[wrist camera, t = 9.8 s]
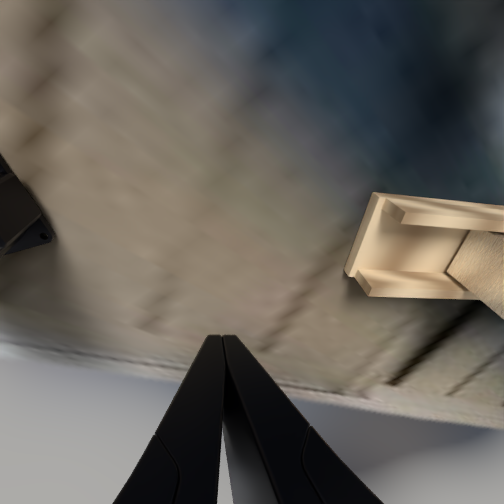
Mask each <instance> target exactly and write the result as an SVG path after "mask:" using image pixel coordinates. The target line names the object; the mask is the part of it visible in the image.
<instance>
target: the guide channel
mask: <svg viewBox="0 0 504 504" xmlns="http://www.w3.org/2000/svg"><path fill="white" fill-rule="evenodd" d="M471 230H482V231H494V232H504V206H500V205H490V204H481V203H471V202H461V201H452V200H442V199H433V198H423V197H414V196H404V195H394V194H385V193H375V192H373V193H372V195H371V198H370V201H369V203H368V206H367V209H366V211H365V214H364V217H363V219H362V222H361V225H360V228H359V230H358V233H357V236H356V238H355V241H354V244H353V246H352V249H351V252H350V254H349V257H348V260H347V263H346V265H345V268H344V271H345V272H346V274H347V275H348V276H349V277H355V279H356V280H357V281H358V283H359V284H360V286H361V287H362V288H363V290H364V291H365V293H366V294H367V295H368V296H374V297H406V298H438V299H471V300H480V299H479V298H478V297H476V296H475V295H474V294H473V293H472V292H471V291H469V290H468V289H467V288H466V287H465V286H463V285H462V284H461V283H460V282H459V281H457V280H456V279H455V278H454V277H453V276H452V275H450V274H449V273H448V272H447V270H448V268H449V266H450V265H451V263H452V261H453V260H454V258H455V256H456V255H457V253H458V251H459V250H460V248H461V246H462V244H463V243H464V241H465V239H466V238H467V236H468V234H469V233H470V231H471Z"/></svg>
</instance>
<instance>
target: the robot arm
mask: <svg viewBox="0 0 504 504" xmlns="http://www.w3.org/2000/svg"><path fill="white" fill-rule="evenodd" d="M42 233H45V234H47V235H48V237H46V236H44V235H43V234H42ZM54 237H55V233H54V231H53V230H52V228H51V227H50V225H49V224H48V223H47V221H46V220H45V218H44V217H43V215H42V214H41V211H40V209H39V208H38V206H37V205H36V204H35V202H34V201H33V199H32V198H31V196H30V195H29V194H28V192H27V191H26V189H25V188H24V186H23V185H22V184H21V182H20V181H19V179H18V178H17V177H16V176H15V175H14V174H13V173H12V171H11V170H10V169H9V167H8V166H7V164H6V163H5V161H4V160H3V159H2V157H1V156H0V258H1V257H2V256H3V255H6V254H10V253H14V252H17V251H21V250H24V249H28V248H31V247H35V246H39V245H42V244H46V243H49V242H51V241H52V240H53V239H54ZM309 426H310V424H309V422H308V421H307V420H306V419H305V418H304V417H303V415H302V414H301V413H300V412H299V410H298V409H297V408H296V407H295V406H294V404H293V403H292V402H291V401H290V399H289V398H288V397H287V396H286V395H285V393H284V392H283V391H282V390H281V389H280V387H279V386H278V385H277V384H276V383H275V381H274V380H273V379H272V378H271V377H270V375H269V374H268V373H267V372H266V371H265V369H264V368H263V367H262V366H261V365H260V363H259V362H258V361H257V360H256V359H255V357H254V356H253V355H252V354H251V353H250V351H249V350H248V349H247V348H246V347H245V345H244V344H243V343H242V342H241V341H240V339H239V338H238V337H237V336H236V335H223V336H221V335H208V336H207V337H206V339H205V341H204V342H203V344H202V346H201V348H200V350H199V352H198V354H197V355H196V357H195V359H194V361H193V363H192V365H191V367H190V368H189V370H188V372H187V374H186V376H185V378H184V380H183V381H182V383H181V385H180V387H179V389H178V391H177V393H176V395H175V396H174V398H173V400H172V402H171V404H170V406H169V408H168V409H167V411H166V413H165V415H164V417H163V419H162V421H161V422H160V424H159V426H158V428H157V430H156V432H155V435H153V437H152V438H151V440H150V442H149V444H148V446H147V448H146V450H145V451H144V453H143V455H142V457H141V459H140V460H139V462H138V464H137V465H136V467H135V469H134V470H133V472H132V474H131V476H130V477H129V479H128V480H127V482H126V483H125V485H124V487H123V488H122V490H121V491H120V493H119V494H118V496H117V498H116V499H115V501H114V502H113V504H217V495H218V481H219V467H220V452H221V437H222V428H223V434H224V441H225V448H226V455H227V462H228V469H229V476H230V483H231V490H232V496H233V503H234V504H384V503H383V502H382V501H381V500H380V499H379V498H378V497H377V496H376V495H375V494H374V493H373V492H372V491H371V490H370V489H369V488H368V487H367V486H366V485H365V484H364V483H363V482H362V481H361V480H360V479H359V478H358V477H357V476H356V475H355V474H354V473H353V472H352V471H351V470H350V469H349V468H348V467H347V465H346V464H345V463H344V462H343V461H342V460H341V459H340V458H339V457H338V456H337V454H336V453H335V452H334V451H333V450H332V449H331V448H330V447H329V445H328V444H327V443H326V442H325V441H324V440H323V438H322V437H321V436H320V435H319V434H318V433H317V431H316V430H315V429H314V428H313V426H310V427H309Z"/></svg>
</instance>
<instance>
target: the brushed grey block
mask: <svg viewBox="0 0 504 504" xmlns="http://www.w3.org/2000/svg"><path fill="white" fill-rule="evenodd" d="M447 272H448V273H449V274H450V275H452V276H453V277H454V278H455V279H456V280H457V281H459V282H460V283H461V284H462V285H463V286H465V287H466V288H467V289H468V290H469V291H471V292H472V293H473V294H474V295H475V296H476V297H478V298H479V299H480V300H481V301H482V302H484V303H485V304H486V305H487V306H488V307H490V308H491V309H492V310H493V311H494V312H495V313H497V314H498V315H499V316H500V317H501V318H503V319H504V232H494V231H482V230H471V231H470V233H469V234H468V236H467V238H466V239H465V241H464V243H463V244H462V246H461V248H460V250H459V251H458V253H457V255H456V256H455V258H454V260H453V261H452V263H451V265H450V266H449V268H448V270H447Z"/></svg>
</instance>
